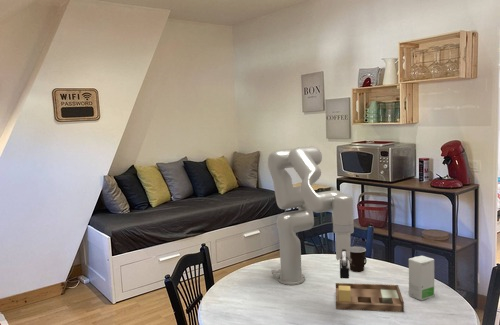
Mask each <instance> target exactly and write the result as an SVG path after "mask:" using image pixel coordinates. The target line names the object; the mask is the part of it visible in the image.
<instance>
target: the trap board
mask: <svg viewBox="0 0 500 325" xmlns="http://www.w3.org/2000/svg"><path fill="white" fill-rule="evenodd" d="M339 286H350V290H351V302H344V301H339ZM404 304H405V301H404V298H403V295H402V291H401V290H400V286H399V284H382V283H381V284H373V283H347V282H346V283H344V282H336V283H335V309H336V310H346V311H347V310H349V311H351V310H352V311H373V312H392V313H393V312H394V313H396V312H397V313H404V312H405V311H404V310H405V309H404V308H405V305H404Z"/></svg>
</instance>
